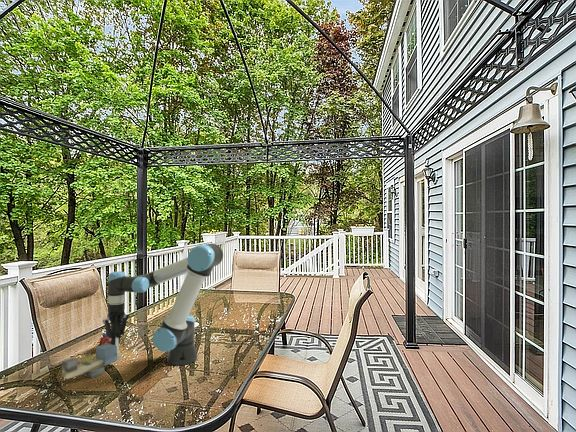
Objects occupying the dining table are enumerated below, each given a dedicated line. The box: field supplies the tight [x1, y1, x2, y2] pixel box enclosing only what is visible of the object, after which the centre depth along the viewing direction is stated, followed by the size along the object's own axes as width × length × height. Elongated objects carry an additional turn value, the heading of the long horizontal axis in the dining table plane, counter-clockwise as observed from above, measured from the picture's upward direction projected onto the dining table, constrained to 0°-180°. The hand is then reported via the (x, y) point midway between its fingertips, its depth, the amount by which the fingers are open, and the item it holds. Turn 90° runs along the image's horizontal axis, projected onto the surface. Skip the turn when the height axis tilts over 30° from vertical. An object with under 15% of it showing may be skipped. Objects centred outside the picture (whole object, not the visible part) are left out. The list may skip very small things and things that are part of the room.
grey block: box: [95, 343, 118, 366], centre depth 171 cm, size 7×6×7 cm
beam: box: [61, 351, 123, 380], centre depth 166 cm, size 7×26×10 cm, turn 149°
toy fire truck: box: [97, 332, 111, 346], centre depth 196 cm, size 7×12×10 cm, turn 172°
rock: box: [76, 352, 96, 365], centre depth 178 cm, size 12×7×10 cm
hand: (115, 350), depth 176 cm, fingers closed
